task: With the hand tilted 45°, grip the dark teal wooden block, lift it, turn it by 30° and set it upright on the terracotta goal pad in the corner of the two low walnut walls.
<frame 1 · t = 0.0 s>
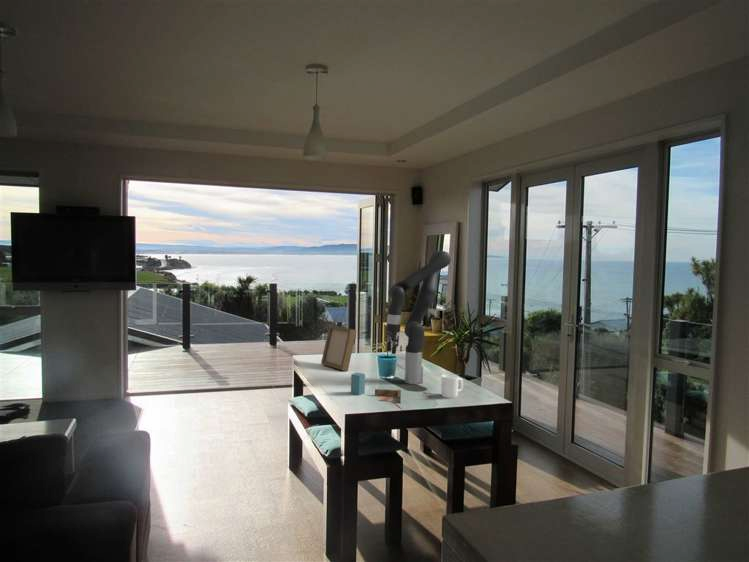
hand: (391, 352, 300), 17 cm above the table, tool pointing down, fingers open, 8 cm apart
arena: (386, 399, 270), on the table
teal block: (357, 393, 279), on the table
cup: (452, 396, 279), on the table
photo frame: (341, 367, 339), on the table
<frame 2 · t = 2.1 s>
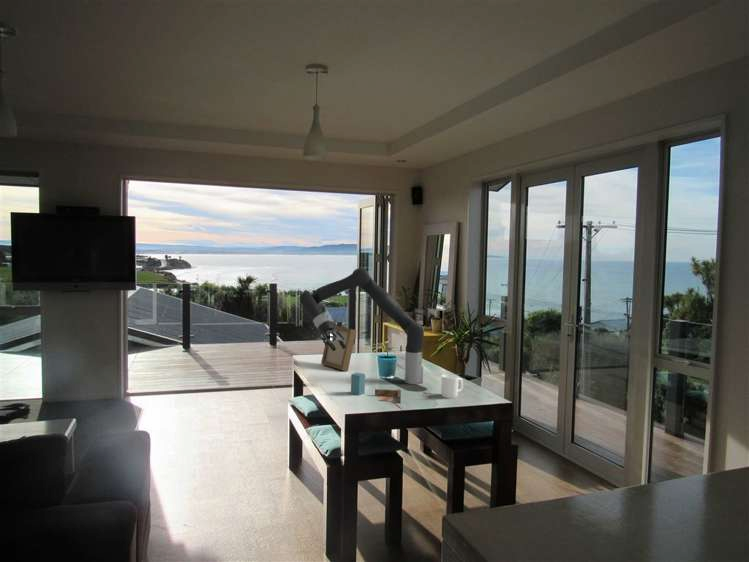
hand: (339, 349, 284), 21 cm above the table, tool tilted 45°, fingers open, 8 cm apart
nothing on the table moved.
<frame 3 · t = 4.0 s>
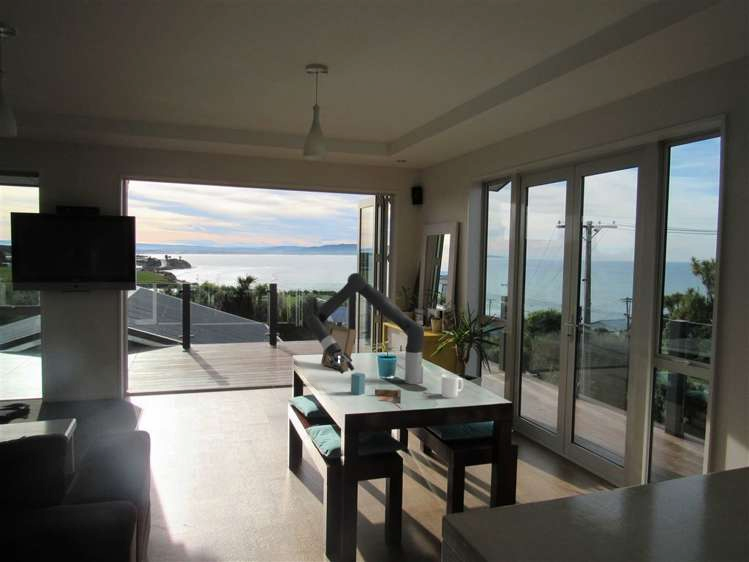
hand: (348, 371, 282), 10 cm above the table, tool tilted 45°, fingers open, 8 cm apart
nothing on the table moved.
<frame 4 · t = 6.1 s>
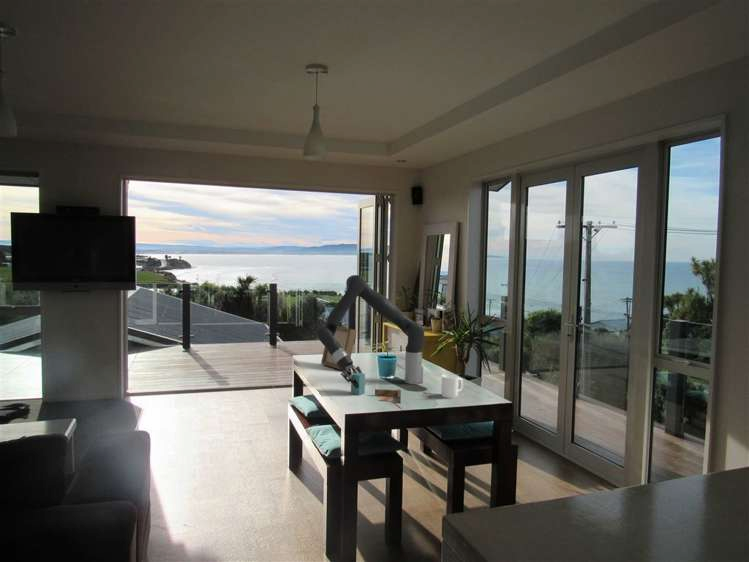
hand: (360, 385, 278), 4 cm above the table, tool tilted 45°, fingers closed on teal block, 5 cm apart
teal block: (357, 393, 279), on the table, touching gripper
everything else where it was.
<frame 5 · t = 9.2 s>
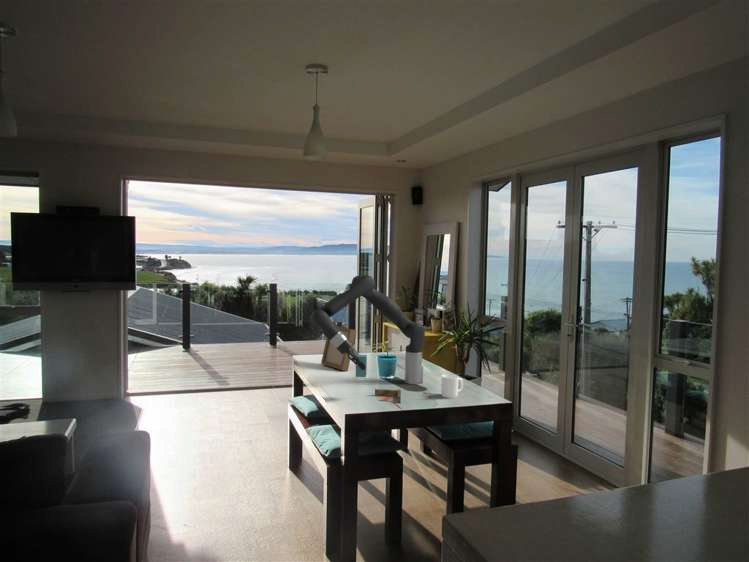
hand: (365, 367, 270), 15 cm above the table, tool tilted 45°, fingers closed on teal block, 5 cm apart
teal block: (361, 375, 270), point 11 cm above the table, touching gripper
everything else where it was.
when the fingers open (6 cm above the table, at t = 12.5 s): teal block drops 1 cm, resting on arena.
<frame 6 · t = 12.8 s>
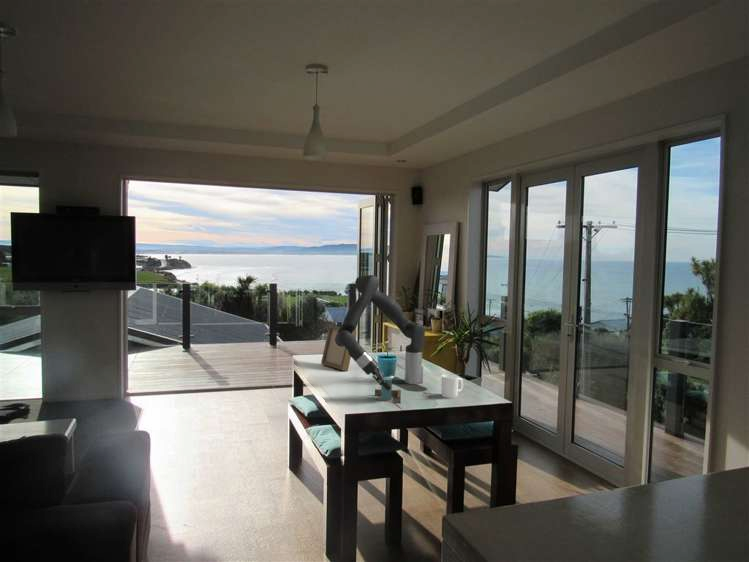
hand: (389, 387, 270), 6 cm above the table, tool tilted 45°, fingers open, 7 cm apart
teal block: (386, 398, 270), resting on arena
everything else where it was.
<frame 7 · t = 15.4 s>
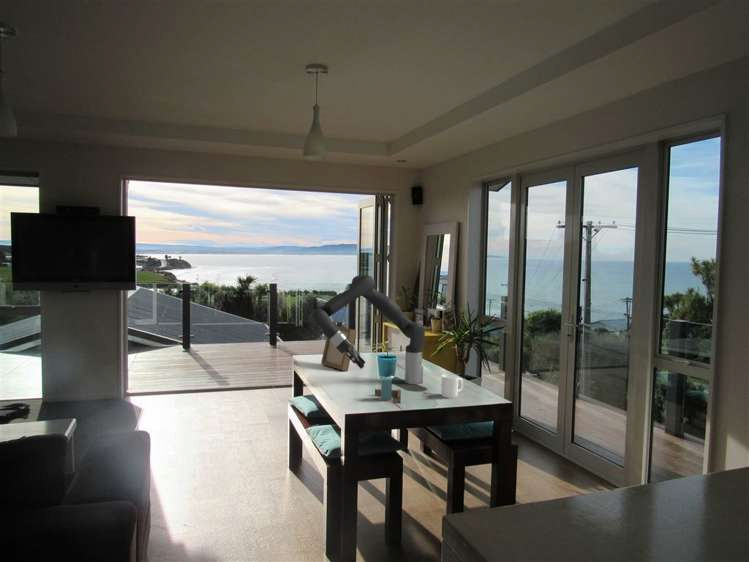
hand: (363, 365, 270), 16 cm above the table, tool tilted 45°, fingers open, 8 cm apart
nothing on the table moved.
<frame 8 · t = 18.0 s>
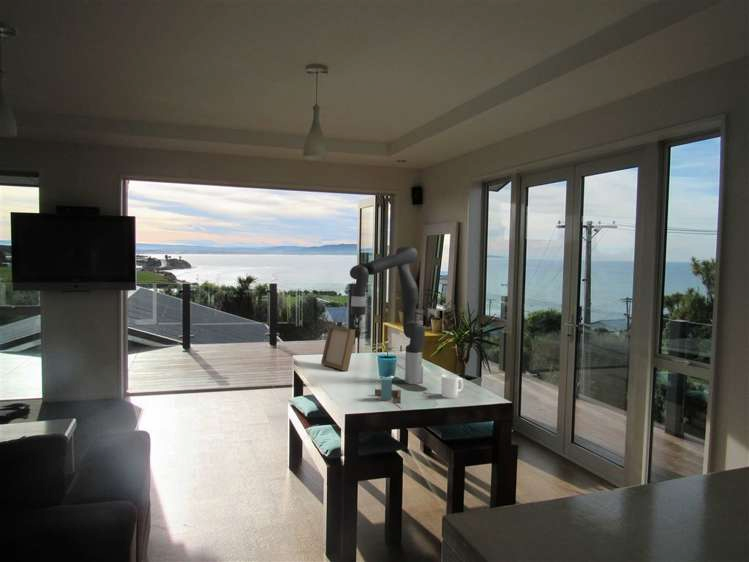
hand: (357, 336, 283), 28 cm above the table, tool pointing down, fingers open, 8 cm apart
nothing on the table moved.
at the end: teal block 0.1 cm off-centre on the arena, point 0.2 cm above the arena's base; teal block tilted 0°; the gripper is holding nothing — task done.
